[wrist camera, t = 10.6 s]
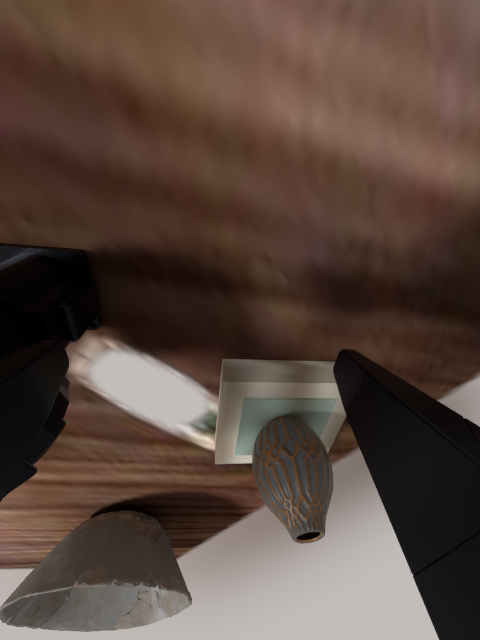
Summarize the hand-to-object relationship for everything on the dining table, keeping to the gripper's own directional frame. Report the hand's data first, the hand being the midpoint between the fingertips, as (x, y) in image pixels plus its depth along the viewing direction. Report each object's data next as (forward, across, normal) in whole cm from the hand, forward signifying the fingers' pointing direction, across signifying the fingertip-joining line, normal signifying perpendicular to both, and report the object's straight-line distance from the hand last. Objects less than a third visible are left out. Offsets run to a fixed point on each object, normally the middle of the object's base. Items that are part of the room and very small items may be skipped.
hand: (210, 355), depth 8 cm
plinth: (+12, -8, +17) cm, 22 cm away
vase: (+9, -8, +17) cm, 21 cm away
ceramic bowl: (+12, +12, +45) cm, 48 cm away
